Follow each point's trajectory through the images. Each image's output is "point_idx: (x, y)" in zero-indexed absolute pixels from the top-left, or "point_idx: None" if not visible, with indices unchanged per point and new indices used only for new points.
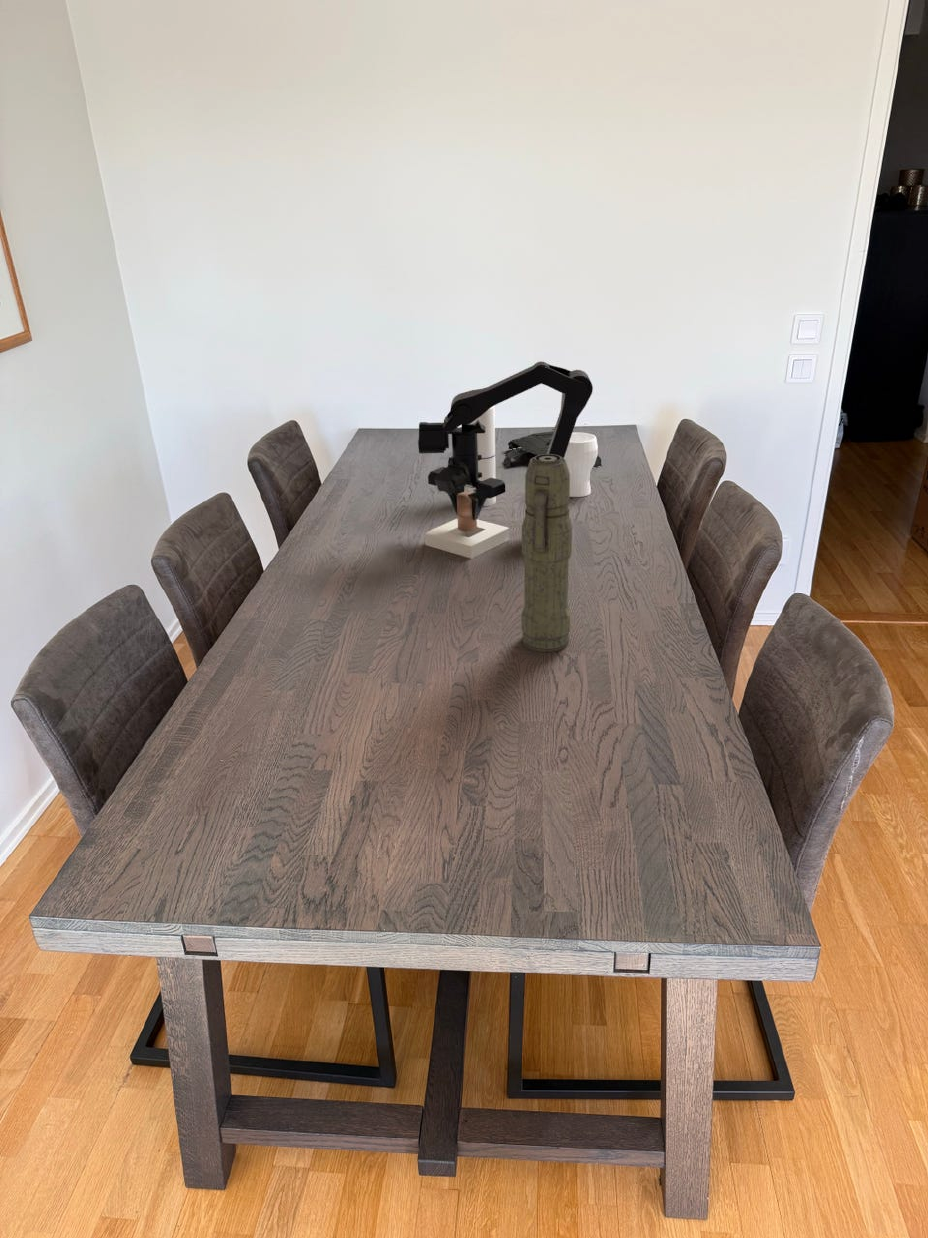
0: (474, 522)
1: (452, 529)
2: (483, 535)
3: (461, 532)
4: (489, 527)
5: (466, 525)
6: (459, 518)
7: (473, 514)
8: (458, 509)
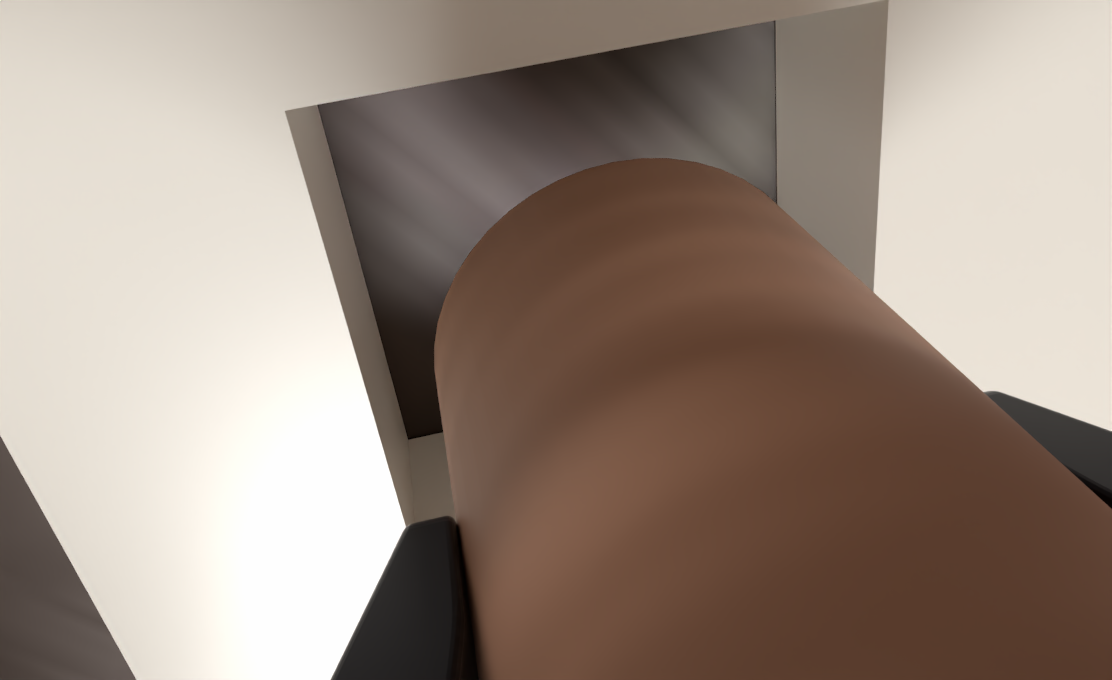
0: (454, 498)
1: (886, 141)
2: (179, 395)
3: None
4: None
5: (515, 289)
6: (770, 282)
7: (400, 642)
8: (973, 455)
